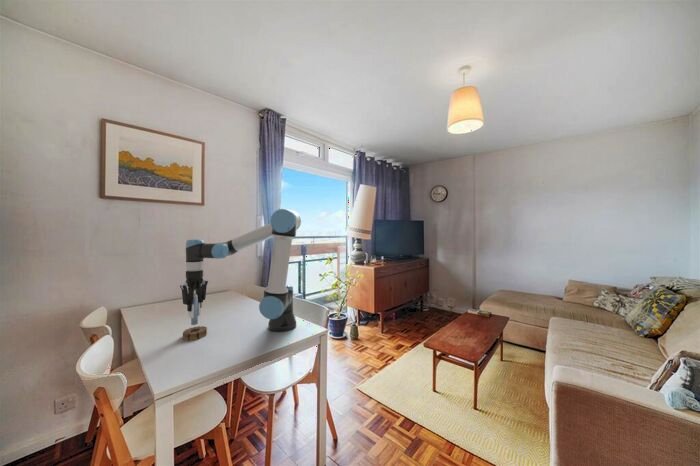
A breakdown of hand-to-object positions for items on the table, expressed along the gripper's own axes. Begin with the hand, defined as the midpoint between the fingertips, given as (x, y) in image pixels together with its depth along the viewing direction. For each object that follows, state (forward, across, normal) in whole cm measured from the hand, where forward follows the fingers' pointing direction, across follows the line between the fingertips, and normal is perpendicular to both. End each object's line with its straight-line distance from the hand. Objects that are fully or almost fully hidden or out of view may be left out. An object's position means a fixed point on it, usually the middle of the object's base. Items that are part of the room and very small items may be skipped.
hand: (194, 316), depth 125 cm
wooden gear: (+10, 0, 0) cm, 10 cm away
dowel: (+4, 0, 0) cm, 4 cm away
